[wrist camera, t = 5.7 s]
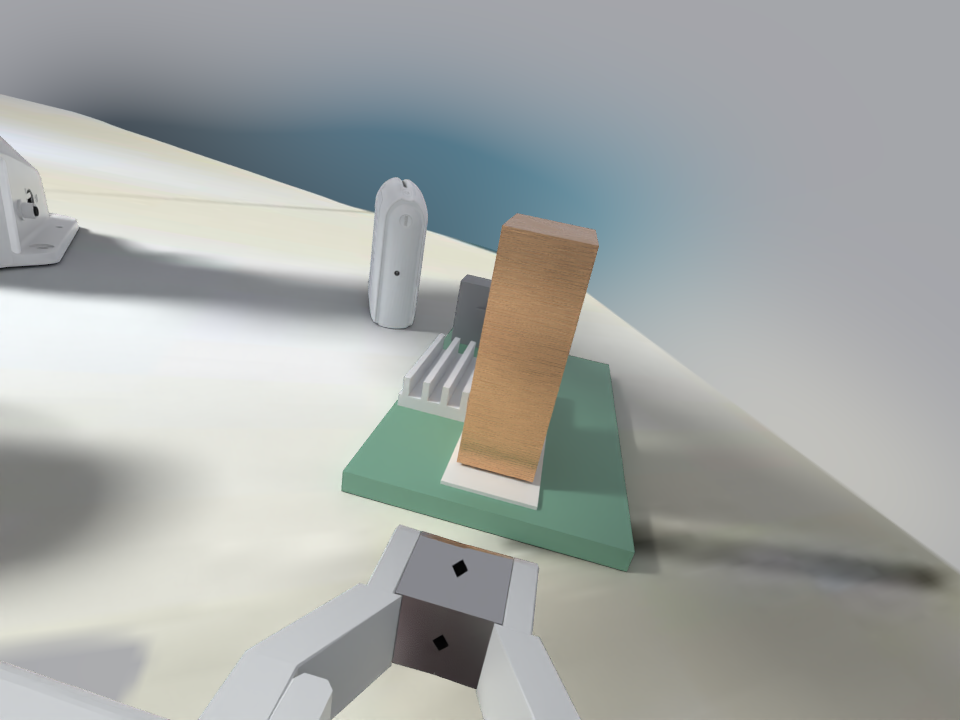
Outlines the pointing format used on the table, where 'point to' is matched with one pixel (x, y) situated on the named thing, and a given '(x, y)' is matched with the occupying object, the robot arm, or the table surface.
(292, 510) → the table surface
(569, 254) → the tall wooden block
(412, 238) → the photo printer
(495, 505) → the board
